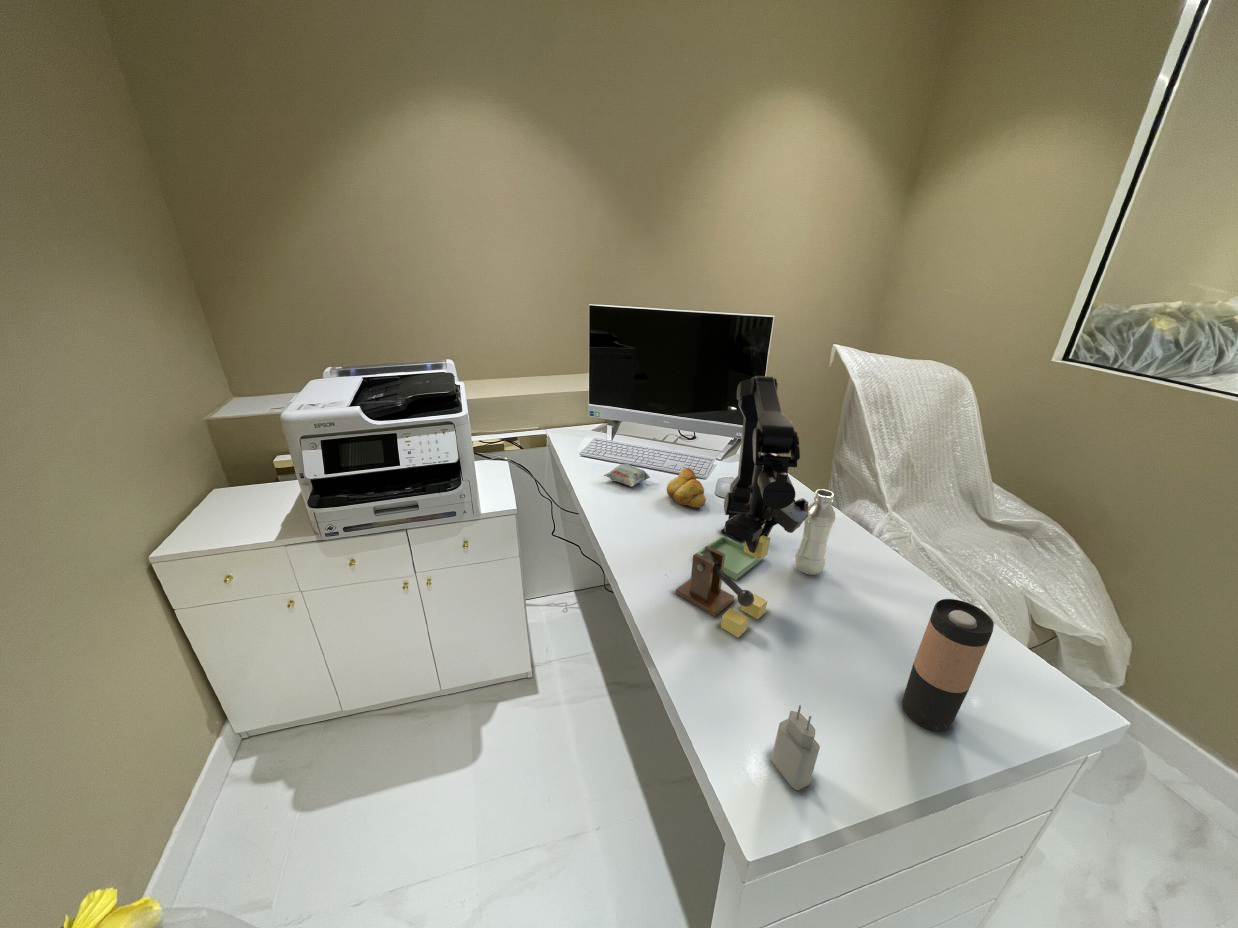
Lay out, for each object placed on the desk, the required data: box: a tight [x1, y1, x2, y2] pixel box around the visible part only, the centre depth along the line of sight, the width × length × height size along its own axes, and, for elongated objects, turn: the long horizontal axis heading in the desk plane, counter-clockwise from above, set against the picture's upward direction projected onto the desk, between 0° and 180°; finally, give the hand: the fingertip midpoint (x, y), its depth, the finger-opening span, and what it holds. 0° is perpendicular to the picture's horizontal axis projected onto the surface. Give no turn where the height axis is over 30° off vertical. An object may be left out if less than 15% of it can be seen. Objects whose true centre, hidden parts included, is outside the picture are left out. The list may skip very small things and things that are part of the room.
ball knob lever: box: [703, 552, 754, 607], centre depth 100 cm, size 13×3×3 cm, turn 46°
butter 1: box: [720, 607, 749, 638], centre depth 97 cm, size 3×4×3 cm
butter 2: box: [740, 592, 768, 620], centre depth 102 cm, size 3×4×3 cm
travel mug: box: [901, 598, 995, 732], centre depth 77 cm, size 8×8×20 cm
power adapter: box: [770, 704, 821, 791], centre depth 69 cm, size 3×5×12 cm, turn 25°
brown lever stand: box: [675, 545, 735, 617], centre depth 104 cm, size 10×7×11 cm
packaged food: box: [603, 463, 651, 488], centre depth 154 cm, size 9×12×5 cm
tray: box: [696, 535, 762, 581], centre depth 119 cm, size 11×11×2 cm
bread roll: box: [666, 467, 707, 508], centre depth 144 cm, size 13×10×8 cm
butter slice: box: [744, 535, 771, 561], centre depth 106 cm, size 3×4×4 cm
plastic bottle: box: [794, 488, 836, 576], centre depth 112 cm, size 6×7×20 cm
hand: (755, 549), depth 106 cm, fingers closed on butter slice, 3 cm apart
